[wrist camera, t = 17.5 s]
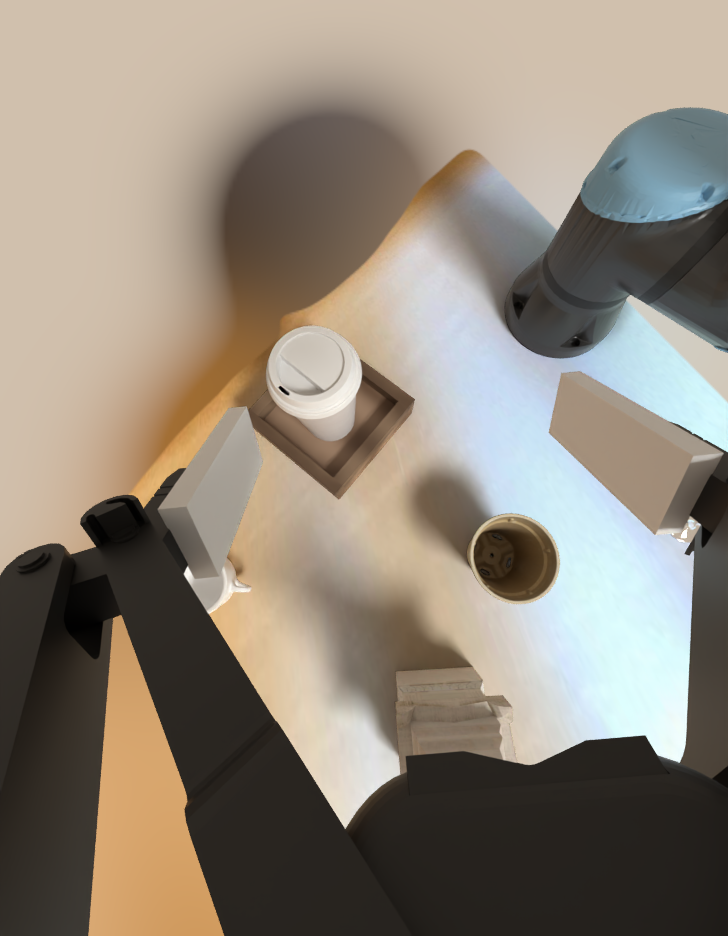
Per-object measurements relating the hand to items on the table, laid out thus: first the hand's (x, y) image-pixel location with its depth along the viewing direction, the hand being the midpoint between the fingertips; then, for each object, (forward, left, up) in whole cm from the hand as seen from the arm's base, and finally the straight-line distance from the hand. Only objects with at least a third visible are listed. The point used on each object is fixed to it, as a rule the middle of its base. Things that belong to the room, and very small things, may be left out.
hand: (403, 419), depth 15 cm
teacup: (+22, -10, -34) cm, 42 cm away
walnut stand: (-4, -13, -34) cm, 36 cm away
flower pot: (-3, +15, -34) cm, 37 cm away
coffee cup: (-4, -13, -31) cm, 34 cm away
